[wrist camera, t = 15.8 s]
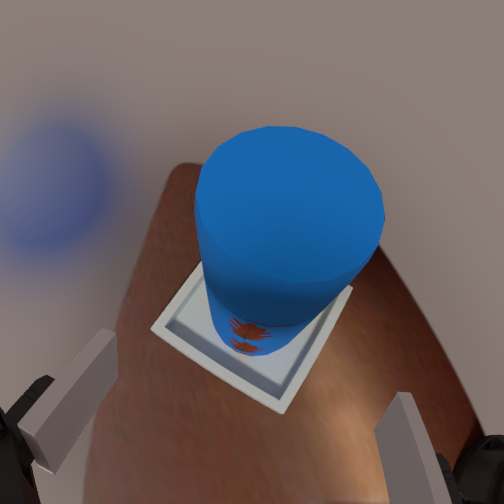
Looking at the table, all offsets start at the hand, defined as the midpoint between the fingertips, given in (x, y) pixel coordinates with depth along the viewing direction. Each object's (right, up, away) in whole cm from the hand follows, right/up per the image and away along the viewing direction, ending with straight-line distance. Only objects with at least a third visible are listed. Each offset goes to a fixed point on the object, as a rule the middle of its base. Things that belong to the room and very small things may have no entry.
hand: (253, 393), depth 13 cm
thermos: (0, -2, +26) cm, 26 cm away
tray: (0, -2, +27) cm, 27 cm away
